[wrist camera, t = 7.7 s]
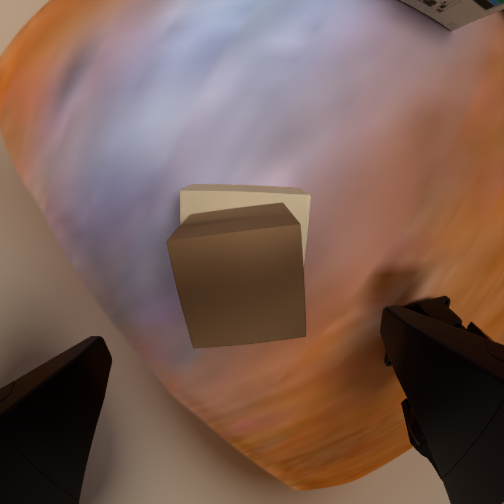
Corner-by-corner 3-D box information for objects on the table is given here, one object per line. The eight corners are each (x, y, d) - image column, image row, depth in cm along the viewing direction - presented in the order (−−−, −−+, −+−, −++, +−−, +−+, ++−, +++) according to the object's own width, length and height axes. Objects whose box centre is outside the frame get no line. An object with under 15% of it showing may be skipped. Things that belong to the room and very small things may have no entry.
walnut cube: (290, 286, 16) (306, 336, 12) (206, 296, 17) (193, 348, 12) (282, 202, 15) (300, 224, 10) (190, 214, 15) (166, 241, 10)
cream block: (289, 282, 21) (298, 309, 17) (194, 279, 21) (184, 306, 17) (297, 187, 19) (310, 195, 15) (193, 183, 18) (180, 190, 14)
